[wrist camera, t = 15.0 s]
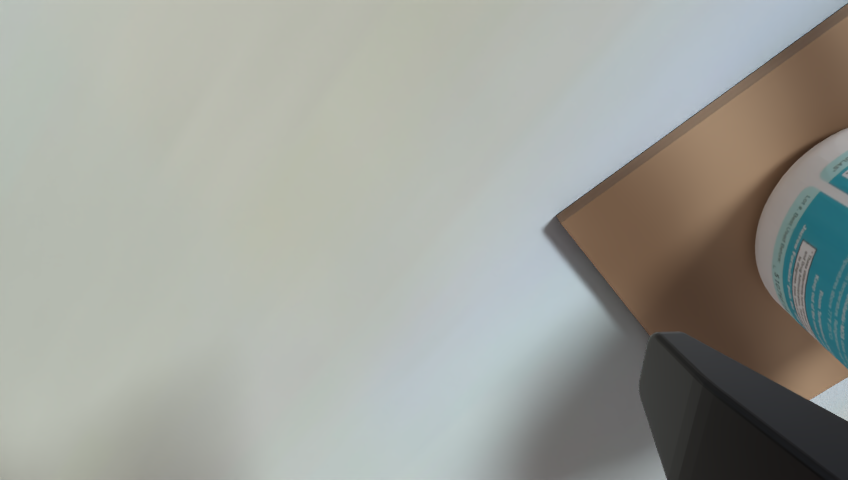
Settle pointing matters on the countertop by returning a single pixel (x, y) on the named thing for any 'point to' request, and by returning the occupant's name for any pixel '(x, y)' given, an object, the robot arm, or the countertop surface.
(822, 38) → the walnut board
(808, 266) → the pill bottle
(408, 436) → the countertop surface
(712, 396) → the robot arm
